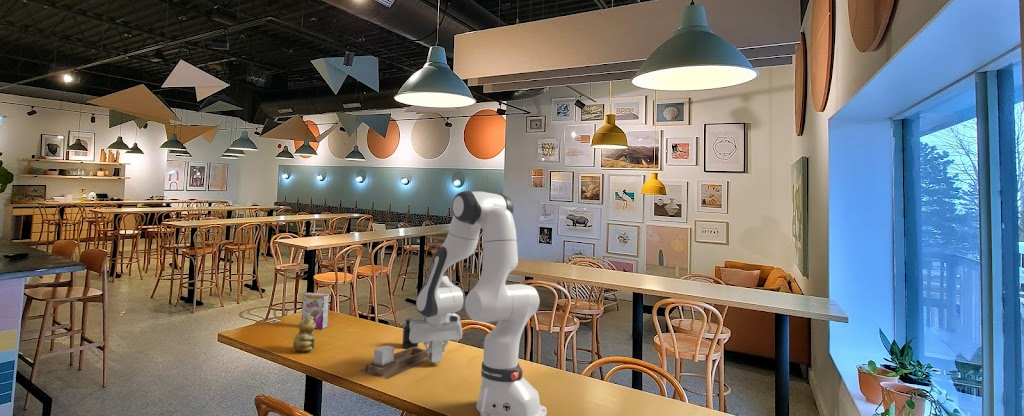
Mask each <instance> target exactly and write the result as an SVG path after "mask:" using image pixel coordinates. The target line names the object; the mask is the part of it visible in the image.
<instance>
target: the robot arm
mask: <svg viewBox="0 0 1024 416" xmlns="http://www.w3.org/2000/svg"><path fill="white" fill-rule="evenodd" d="M451 203H452V205H451V211H452V214H453V216H452V219H451V220H450V225H449V229H448V233H447V236H446V238H445V240H444V242H443V244H441V246H440V247H438V249H436V251H435V253H434V255H433V257H432V260H431V262H430V265H429V268H428V271H427V274H426V276H425V279H424V281H423V284H422V287H421V288H420V291H419V292H418V294H417V295H416V296H417V297H416V300H415V307H416V309H417V311H418V312H419V313H420V315H422V317H412V318H413V319H412V320H413V321H412V320H411V321H410V323H409V328H410V334H409V340H410V342H411V343H418V344H422V343H423V345H424V347H425V350H426V353H427V354H428V355H429V353H431V348H429V342H432V340H443V348H442V353H445V351H446V350H445V349H446V347H447V345H448V344H449V341H458V340H461V339H462V337H463V327H462V324H461V322H460V321H461V317H460V315H458V314H457V312H459V311H462V310H463V308H464V307H465V312H466V315H467V316H468V317H469V319H471V321H473V322H480V323H493V322H497V323H496V325H495V327H494V328H493V329H492V330H491V331H490V332H489V333H487V334H486V336H485V338H484V340H483V341H484V342H483V358H482V359H483V361H482V362H481V370H480V374H481V384H480V389H479V394H478V398H477V399H478V400H477V401H476V404H475V408H476V410H477V412H479V415H480V416H547V414H548V410H547V407H546V406H544V405H541V401H540V400H541V399H540V395H539V392H538V390H537V389H536V388H534V387H533V386H532V385H531V383H530V382H529V381H528V380H527V379H526V378H524V376H523V373H524V372H525V369H526V367H525V366H524V367H521V366H520V363H519V353H520V352H519V350H520V342H521V338H522V335H523V332H524V330H525V327H526V325H527V323H528V322H529V320H530V319H531V317H533V315H535V314H536V313H537V311H538V310H539V307H540V303H541V302H540V301H541V300H540V296H539V292H538V291H537V289H536V288H535V287H534V286H532V285H529V284H522V283H513V284H506V283H507V282H506V281H507V277H508V276H509V274H510V273H511V272H513V271H514V270H515V269H517V266H518V263H519V255H518V254H519V253H518V240H517V237H518V236H517V229H516V225H515V220H514V217H513V214H514V204H513V201H512V199H511V198H510V197H509V196H507V195H504V194H501V193H493V192H487V191H470V190H466V191H465V190H464V191H461V192H458V193H457V194H455V196H454V198H453V200H452V202H451ZM481 229H482V249H483V250H482V251H483V254H482V255H483V257H482V259H483V260H482V262H483V263H482V264H483V265H482V270H481V274H480V277H479V279H478V281H477V283H476V284H475V286H474V287H473V288H472V289H471V290H469V292H468V294H467V295H465V292H464V290H463V289H462V288H461V287H459V286H457V285H455V284H453V282H451V280H450V279H449V276H448V275H446V274H445V272H446V271H447V269H449V268H450V267H451V266H452V265H454V264H456V263H458V262H461V261H463V260H466V259H467V258H469V257H471V255H473V254H474V253H475V251H476V249H477V247H478V243H479V238H480V233H481Z"/></svg>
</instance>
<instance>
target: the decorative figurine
mask: <svg viewBox="0 0 1024 416" xmlns="http://www.w3.org/2000/svg"><path fill="white" fill-rule="evenodd" d="M313 319H314V317H313V316H310V314H308V315H306V317H305V319H304V320H302V319H301V321H300V322H299V323H298V329H299V332H298V333H297V334H296V335H295V337H294V340H293V343H292V344H293V348H294V349H295V351H298V352H301V353H312V352H313V349H314V348H315V342H316V341H315V340H316V337H315V336H314V333H313V331H314V330H315V328H316V323H315V322H314V320H313Z"/></svg>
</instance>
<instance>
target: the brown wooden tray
mask: <svg viewBox="0 0 1024 416" xmlns="http://www.w3.org/2000/svg"><path fill="white" fill-rule="evenodd" d="M428 355H429V353H428V354H427V353H426V348H425V349H424V348H420V347H417V348H416V347H411V348H408V349H407V348H405V349H403V350H401V351H398V352H396V353H394V363H393V364H390V365H388V366H385V367H383V368H381V367H377V366H374V361H373V362H369V363H368V364H365V367H364V368H361V369H359V370H358V371H359V372H361V373H364V374H369V375H373V376H376V377H379V378H383V379H386V380H388V379H391V378H393V377H395V376H397V375H399V374H402V373H404V372H406V371H408V370H411V369H413V368H415V367H418V366H419V365H421V364H424V363H426V362H429V361H430V359H429V358H428Z"/></svg>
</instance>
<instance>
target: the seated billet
mask: <svg viewBox="0 0 1024 416" xmlns="http://www.w3.org/2000/svg"><path fill="white" fill-rule="evenodd" d="M373 350H374V351H373V352H374V353H373V357H374V358H373V362H374V366H377V367H381V368H383V367H385V366H388V365H390V364H393V363H394V354H395V347H394V346H391V345H383V346H380V347H378V348H375V349H373Z"/></svg>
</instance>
